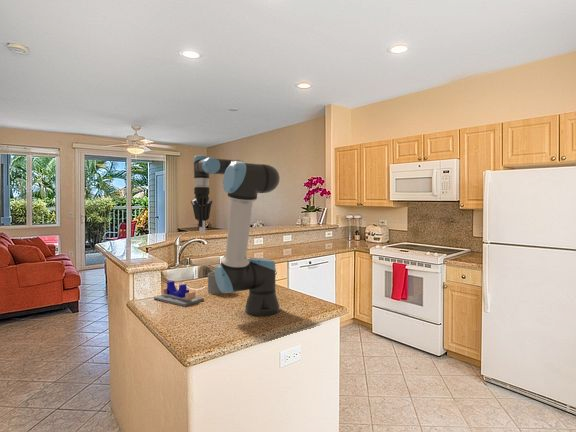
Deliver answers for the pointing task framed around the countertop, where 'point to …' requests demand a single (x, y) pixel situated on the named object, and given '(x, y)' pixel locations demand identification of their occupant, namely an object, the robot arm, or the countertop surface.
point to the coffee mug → (213, 284)
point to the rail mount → (185, 301)
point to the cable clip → (173, 291)
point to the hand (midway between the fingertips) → (202, 233)
